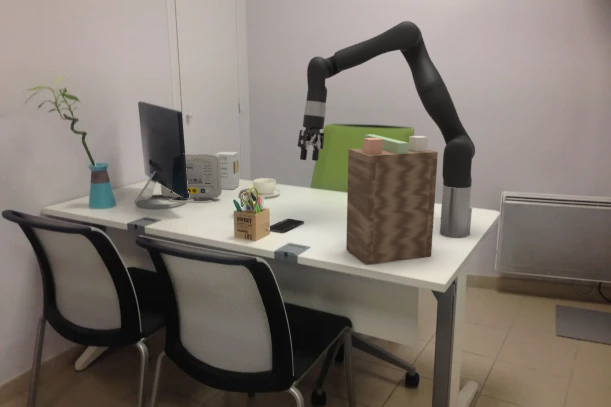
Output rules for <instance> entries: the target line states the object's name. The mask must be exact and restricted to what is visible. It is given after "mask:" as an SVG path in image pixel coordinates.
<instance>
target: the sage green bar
mask: <svg viewBox="0 0 611 407" xmlns="http://www.w3.org/2000/svg"><path fill="white" fill-rule="evenodd" d="M364 138H379V139H383V145H382V149H383V150H387V151H390V152H394V153H397V154H407V153H408V148H409V142H406V141H402V140H399V139H394V138H391V137H387V136H382V135H377V134H370V133H369V134H364Z"/></svg>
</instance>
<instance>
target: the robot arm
mask: <svg viewBox="0 0 611 407" xmlns="http://www.w3.org/2000/svg"><path fill="white" fill-rule="evenodd" d="M395 51H400V53H401V54H402V56H403V57H404V59H405V61H406V63H407V66H408V67H409V69H410V73H411V76H412V79H413V84H414V86H415V90H416V92H417V96H418V97H419V99H420V102H421V104H422V106H423V107H424V110H425V111H426V113H427V114H428V115H429V117H430V118H431V120H432V121H433V122H434V123H435V124H436V126H437V127H438V129H439V130H440V132H441V135H442V137H443V140H444V142H445V147H444V148H443V155H442V157H443V158H442V195H441V196H442V197H441V211H440V222H439V223H440V226H439V233H440V235H442V236H444V237H448V238H449V237H450V238H465V237H467V236H469V235H471V227H472V226H471V225H472V215H473V211H472V210H473V208H472V207H470V206H471V193H472V181H473V180H472V163H473V162H472V161H473V158H474V157H475V155H476V147H475V144H474V142H473V140H472V139H471V137H470V135H469V134H468V132H467V130H466V129H465V127H464V125H463V123H462V122H461V119H460V117H459V115H458V111H457V109H456V107H455V104H454V101H453V100H452V97H451V95H450V92H449V90H448V88H447V86H446V83H445V82H444V79H443V77H442V76H441V74H440V73H439V71H438V69H437V68H436V67H437V66H435V64H434V63H433V61H432V59H431V57H430V55H429V52H428V50H427V47H426V43H425V40H424V38H423V34H422V31H421V29H420V28H419V27H418V25H417V24H416V23H414V22H413V21H409V20H405V21H401V22H400V23H398V24H396V25H394V26H393V27H391V28H389V29H388V30H385V31H384V32H382V33H379V34H378V35H376V36H373V37H371V38H369V39H367V40H366V39H365V40H363V41H361V42H358V43H355V44H353V45H350V46H347V47H344V48H341V49H339V50H337V51H335V52H334V53H333V55H331V56H329V57H326V58H323V56H314V57H312V58H311V59H310V60H309V62H308V64H307V69H306V77H307V78H306V81H307V94H306V100H305V101H306V102H305V105H304V113H303V121H302V127H303V128H305V129H299V135H298V140H297V147H299V149H300V157H299V159H300V161H307V158H308V156H307V155H308V148H310V146H312V148H313V150H312V156H311V160H312V161H315V162H318V161H319V154H320V151H321V150H323V149H324V143H325V142H324V141H325V140H324V139H325V132H321V130H323V129H324V127H325V119H326V110H327V106H326V105H327V98H328V88H327V86H326V79H330V78H332V77H334V76H337V74H340V73H341V72H344V71H345V70H346V71H347V70H349V69H351V68H354V67H357V66H361V65H363V64H365V63H366V62H368V61H370V60H372V59H374V58H376V57H378V56H381V55H384V54H387V53H390V52H395Z"/></svg>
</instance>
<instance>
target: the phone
mask: <svg viewBox="0 0 611 407" xmlns="http://www.w3.org/2000/svg"><path fill="white" fill-rule="evenodd" d="M304 224H305V221H304V220H300V219H293V218H285V219H283V220H281V221H277V223H273V224H271V225H269V226H270V231H269V232H272V233H278V234H285V233H288V232H289V231H292V230H294V229H296V228H299V227H300V226H302V225H304Z"/></svg>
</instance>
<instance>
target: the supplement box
mask: <svg viewBox="0 0 611 407" xmlns="http://www.w3.org/2000/svg"><path fill="white" fill-rule="evenodd" d="M216 154H217V155H219V156H220V165H221V190H229V189H234V190H235V189H237V188H238V187H240V170H239V169H240V167H239V166H240V162H239V152H238V151H219V152H217V153H216ZM236 187H237V188H236Z"/></svg>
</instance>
